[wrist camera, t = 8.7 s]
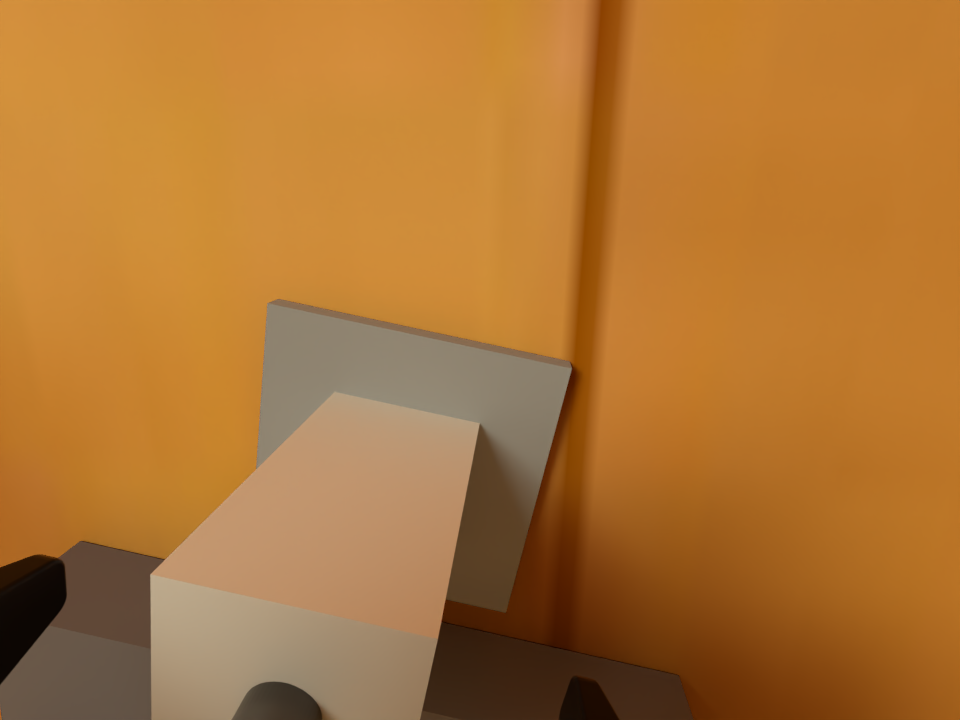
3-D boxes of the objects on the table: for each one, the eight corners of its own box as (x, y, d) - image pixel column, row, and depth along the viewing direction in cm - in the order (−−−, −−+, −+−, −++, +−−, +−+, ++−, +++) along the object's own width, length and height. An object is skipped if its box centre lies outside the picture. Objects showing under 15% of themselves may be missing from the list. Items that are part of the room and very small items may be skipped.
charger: (480, 423, 13) (420, 728, 6) (452, 545, 15) (374, 937, 7) (334, 391, 13) (74, 648, 6) (320, 516, 15) (90, 869, 7)
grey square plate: (569, 361, 13) (572, 368, 13) (506, 598, 16) (505, 612, 15) (278, 299, 13) (267, 303, 13) (260, 543, 16) (250, 555, 15)
